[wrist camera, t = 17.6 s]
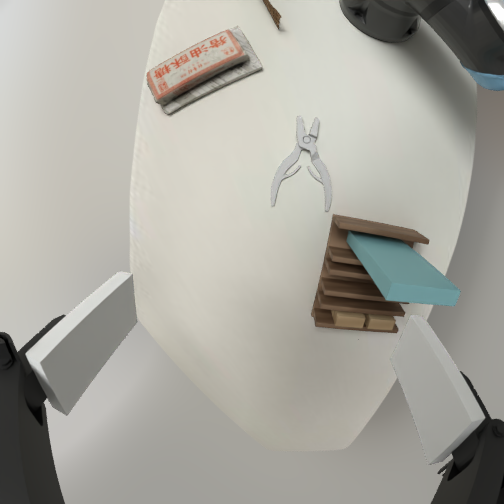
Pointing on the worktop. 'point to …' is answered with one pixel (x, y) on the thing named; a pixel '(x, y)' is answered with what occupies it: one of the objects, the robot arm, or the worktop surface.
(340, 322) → the offcut
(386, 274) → the tall board
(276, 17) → the wood plank
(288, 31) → the worktop surface
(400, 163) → the worktop surface
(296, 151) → the pliers
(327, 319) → the rack
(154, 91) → the packaged product
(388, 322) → the offcut
